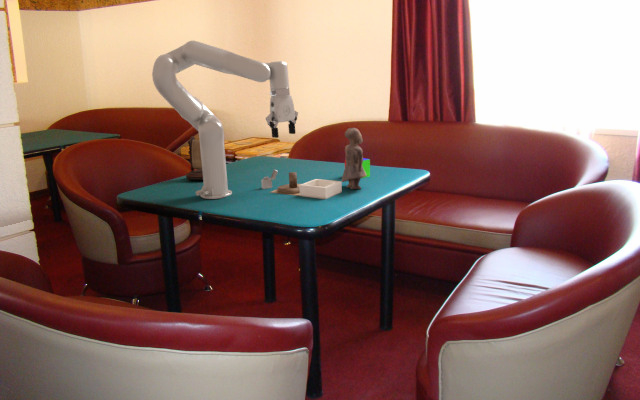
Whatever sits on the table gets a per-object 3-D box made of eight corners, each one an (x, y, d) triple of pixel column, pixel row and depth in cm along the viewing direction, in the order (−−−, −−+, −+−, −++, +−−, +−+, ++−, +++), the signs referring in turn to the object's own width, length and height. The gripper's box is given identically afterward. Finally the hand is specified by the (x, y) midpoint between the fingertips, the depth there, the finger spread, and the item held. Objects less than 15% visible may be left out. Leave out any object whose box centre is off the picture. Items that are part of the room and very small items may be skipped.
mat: (297, 197, 222) (297, 195, 222) (269, 193, 229) (269, 192, 229) (317, 189, 233) (317, 188, 233) (289, 186, 241) (289, 185, 241)
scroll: (180, 182, 257) (176, 138, 252) (195, 175, 271) (191, 133, 266) (210, 182, 254) (206, 138, 249) (223, 175, 268) (220, 133, 263)
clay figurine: (372, 189, 229) (371, 128, 223) (350, 193, 225) (349, 130, 219) (357, 184, 241) (356, 125, 234) (336, 186, 237) (334, 127, 231)
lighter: (263, 190, 236) (262, 171, 234) (261, 189, 237) (260, 170, 235) (278, 188, 238) (277, 169, 237) (277, 187, 240) (276, 168, 238)
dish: (325, 200, 215) (325, 187, 214) (299, 197, 222) (299, 184, 220) (341, 193, 225) (341, 181, 224) (316, 190, 231) (316, 178, 230)
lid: (297, 195, 223) (296, 177, 221) (271, 192, 229) (270, 174, 228) (315, 188, 233) (314, 171, 231) (289, 185, 240) (289, 168, 238)
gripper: (270, 95, 217) (275, 139, 221) (301, 90, 229) (305, 132, 233) (257, 95, 222) (262, 138, 226) (288, 91, 234) (292, 132, 238)
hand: (284, 135), depth 230 cm, fingers open, 9 cm apart
